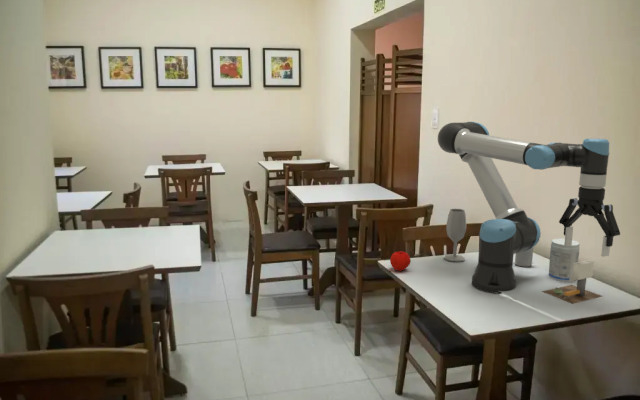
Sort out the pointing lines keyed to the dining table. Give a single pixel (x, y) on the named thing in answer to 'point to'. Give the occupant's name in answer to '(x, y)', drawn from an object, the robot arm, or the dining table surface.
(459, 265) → the dining table surface
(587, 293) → the base
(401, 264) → the apple
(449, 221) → the wineglass
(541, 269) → the dining table surface
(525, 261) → the beverage can
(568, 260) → the supplement tub
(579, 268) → the beige block on post
